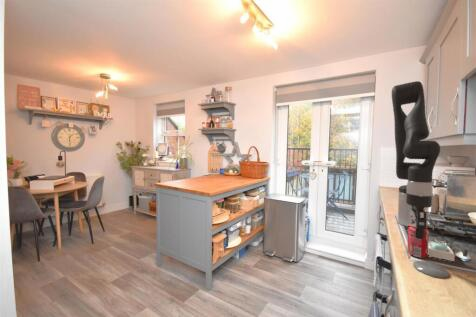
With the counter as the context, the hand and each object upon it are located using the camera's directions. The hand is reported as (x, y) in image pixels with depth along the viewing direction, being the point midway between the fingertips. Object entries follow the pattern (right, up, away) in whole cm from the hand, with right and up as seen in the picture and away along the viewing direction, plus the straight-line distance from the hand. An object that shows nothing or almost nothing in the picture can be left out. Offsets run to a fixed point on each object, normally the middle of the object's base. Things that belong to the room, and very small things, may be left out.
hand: (417, 234), depth 82 cm
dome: (+9, -8, 0) cm, 12 cm away
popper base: (+9, -8, 0) cm, 12 cm away
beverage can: (0, -9, +1) cm, 9 cm away
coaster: (-3, -9, -9) cm, 13 cm away
